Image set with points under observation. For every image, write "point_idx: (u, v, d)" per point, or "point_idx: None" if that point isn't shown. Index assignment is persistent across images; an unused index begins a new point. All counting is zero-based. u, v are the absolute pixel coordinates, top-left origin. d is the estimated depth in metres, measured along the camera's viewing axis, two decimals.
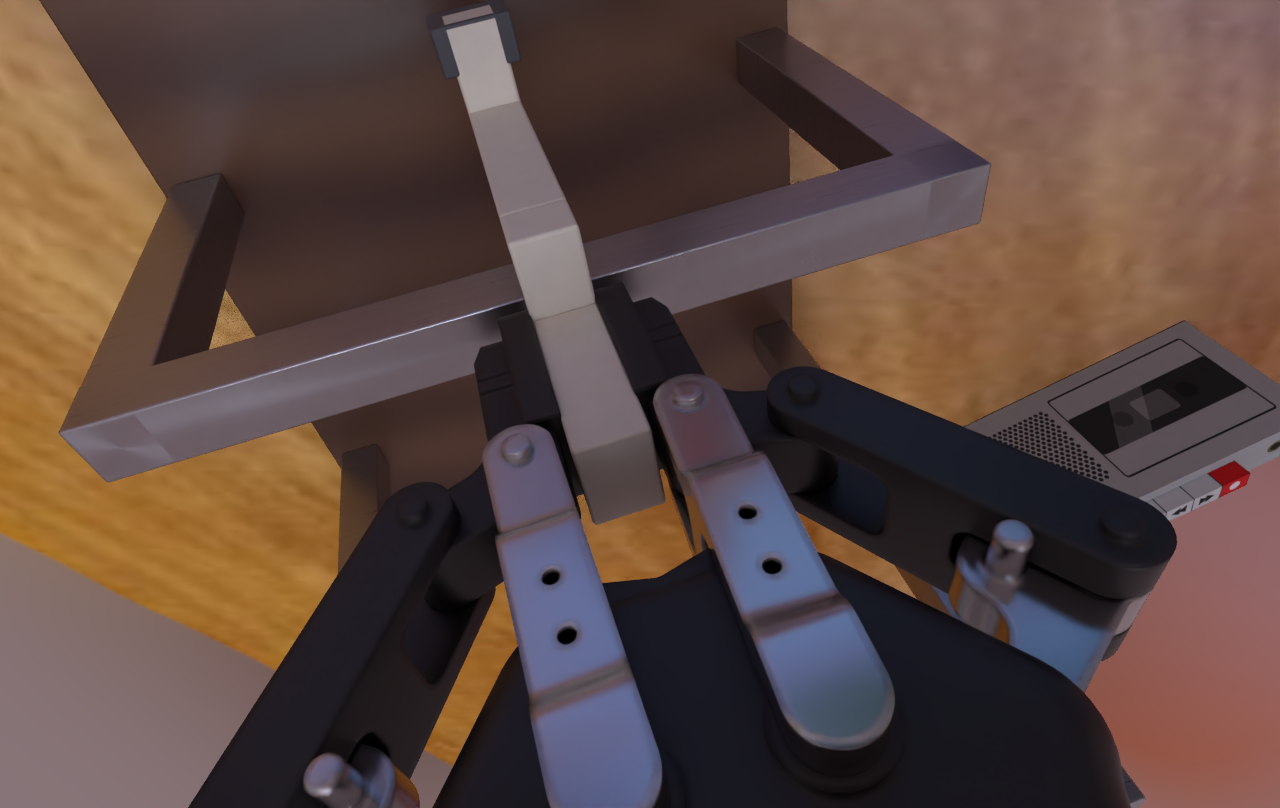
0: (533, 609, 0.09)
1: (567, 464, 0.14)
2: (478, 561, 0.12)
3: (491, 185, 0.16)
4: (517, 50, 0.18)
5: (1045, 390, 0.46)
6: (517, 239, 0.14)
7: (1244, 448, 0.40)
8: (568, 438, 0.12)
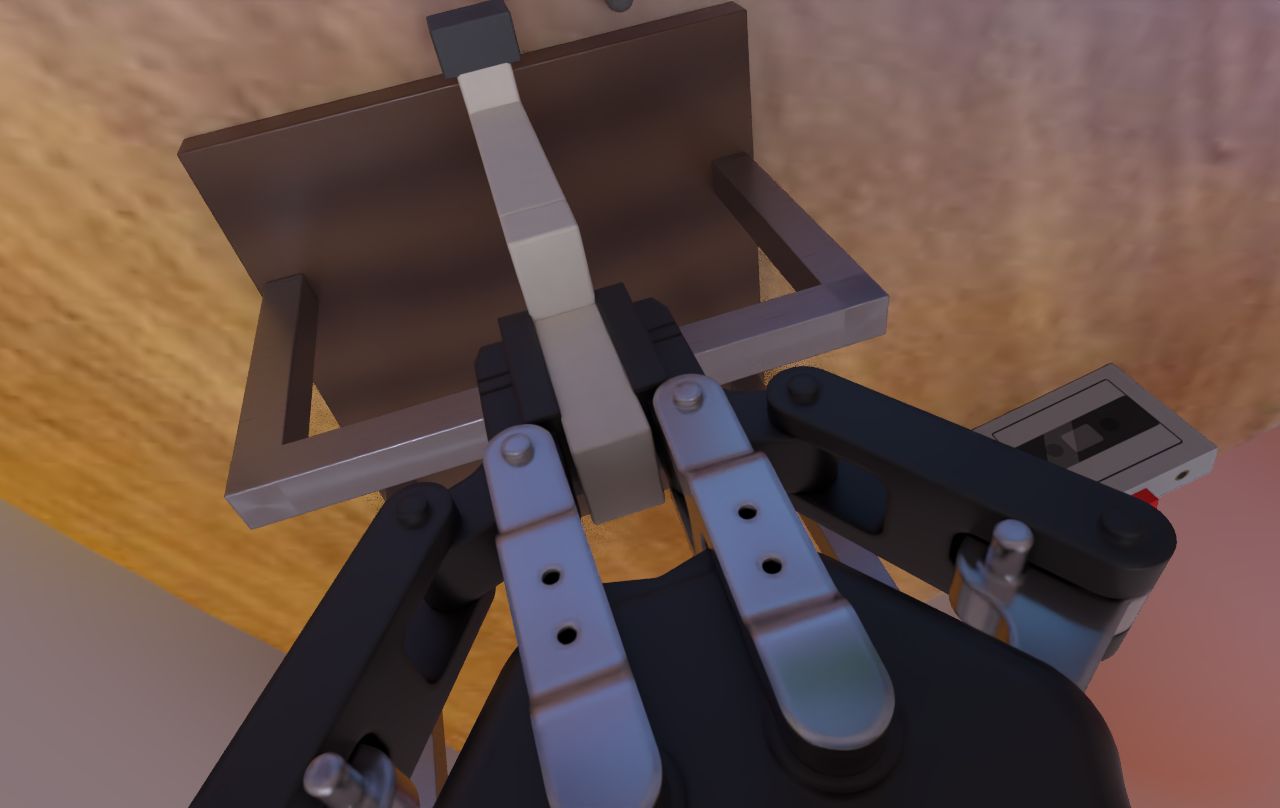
0: (533, 609, 0.09)
1: (567, 464, 0.14)
2: (478, 561, 0.12)
3: (491, 185, 0.16)
4: (517, 50, 0.19)
5: (991, 423, 0.53)
6: (517, 239, 0.14)
7: (1154, 478, 0.46)
8: (568, 438, 0.13)
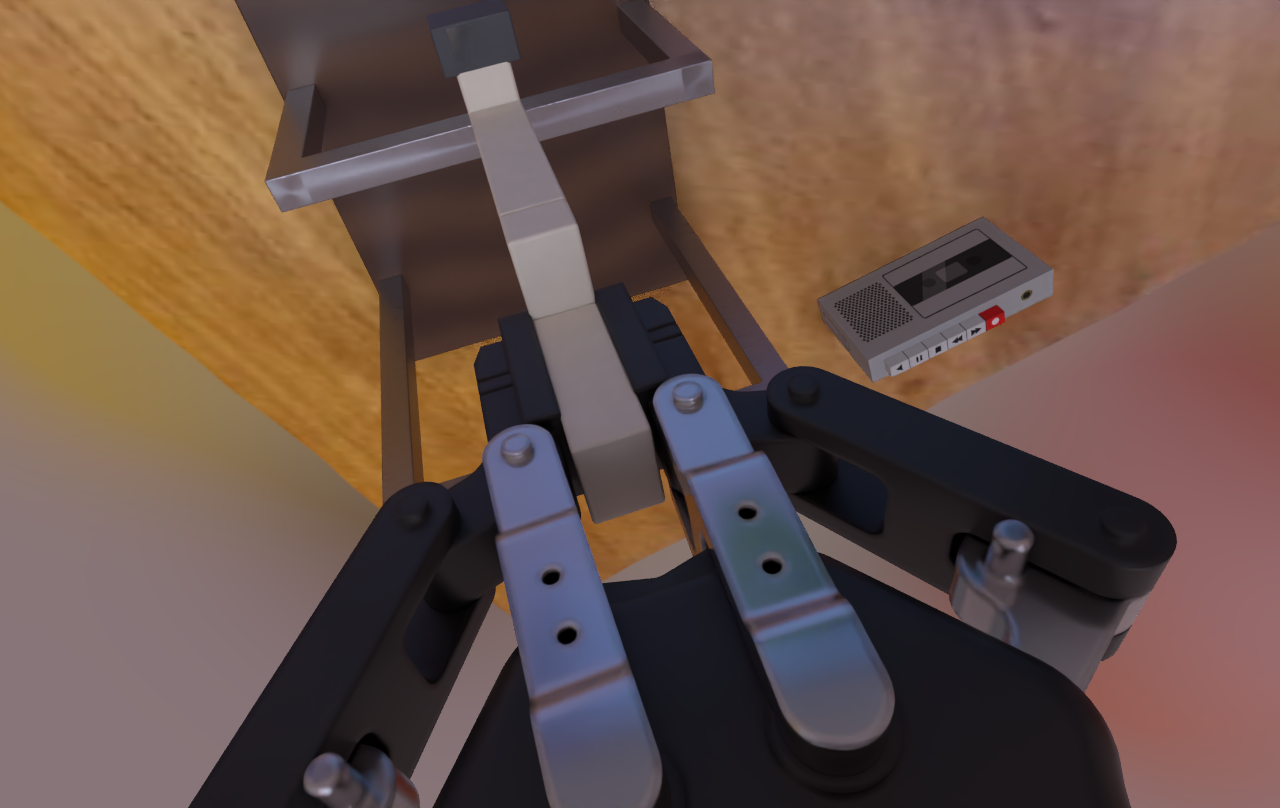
0: (533, 609, 0.09)
1: (567, 464, 0.14)
2: (478, 561, 0.12)
3: (491, 184, 0.16)
4: (517, 49, 0.18)
5: (882, 268, 0.64)
6: (517, 238, 0.14)
7: (1001, 294, 0.57)
8: (568, 437, 0.12)
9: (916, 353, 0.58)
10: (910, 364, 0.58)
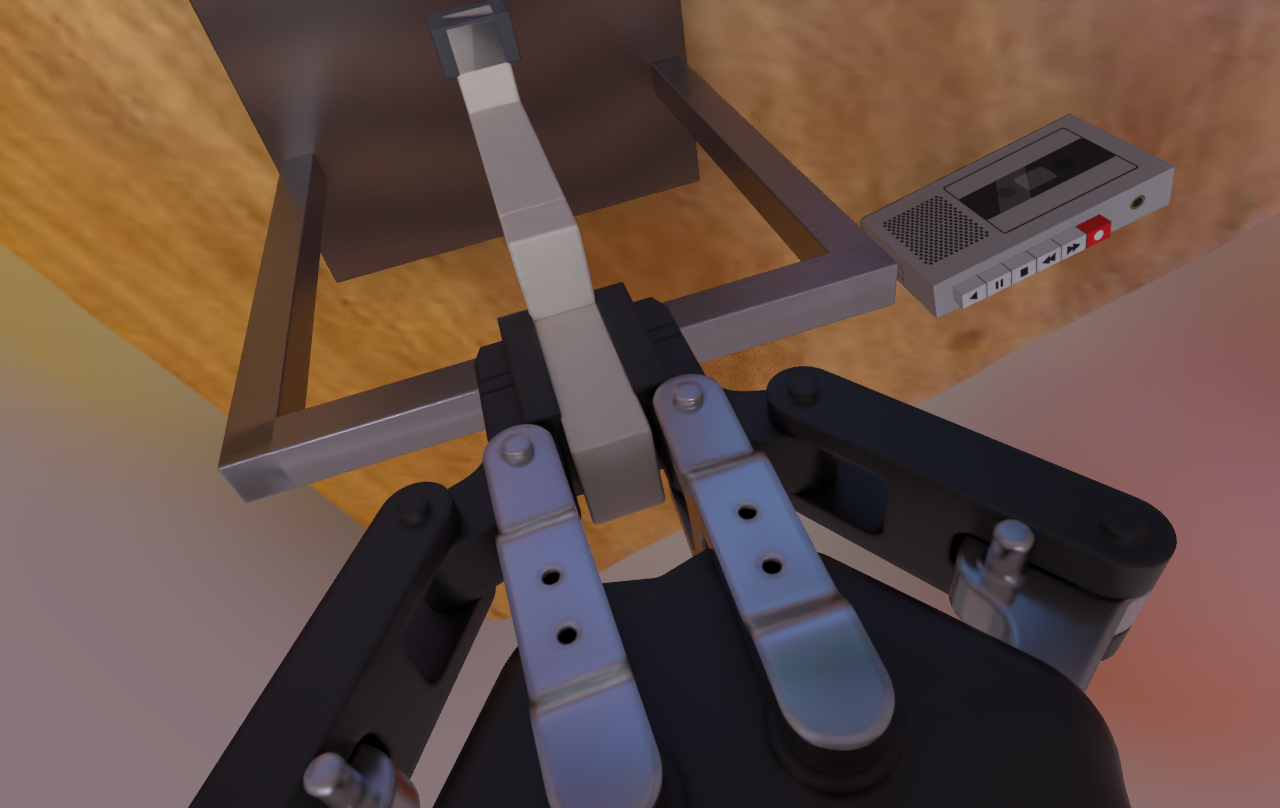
0: (533, 609, 0.09)
1: (567, 464, 0.14)
2: (478, 561, 0.12)
3: (491, 185, 0.16)
4: (517, 50, 0.18)
5: (943, 179, 0.51)
6: (517, 239, 0.14)
7: (1106, 200, 0.44)
8: (568, 438, 0.13)
9: (996, 276, 0.44)
10: (987, 291, 0.45)
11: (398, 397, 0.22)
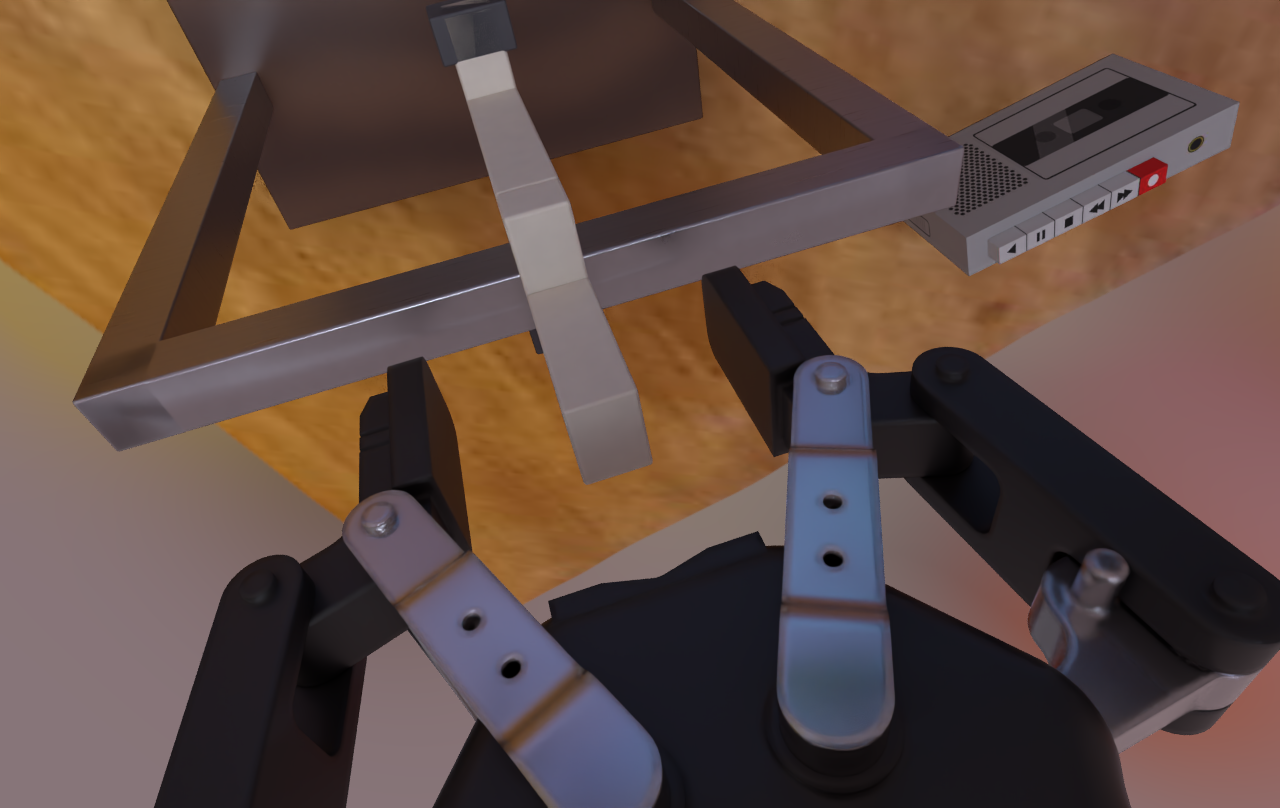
0: (466, 658, 0.09)
1: (447, 525, 0.13)
2: (344, 619, 0.12)
3: (487, 166, 0.17)
4: (513, 38, 0.19)
5: (972, 126, 0.46)
6: (512, 215, 0.15)
7: (1162, 140, 0.39)
8: (559, 400, 0.13)
9: (1037, 227, 0.39)
10: (1027, 244, 0.40)
11: (318, 313, 0.17)
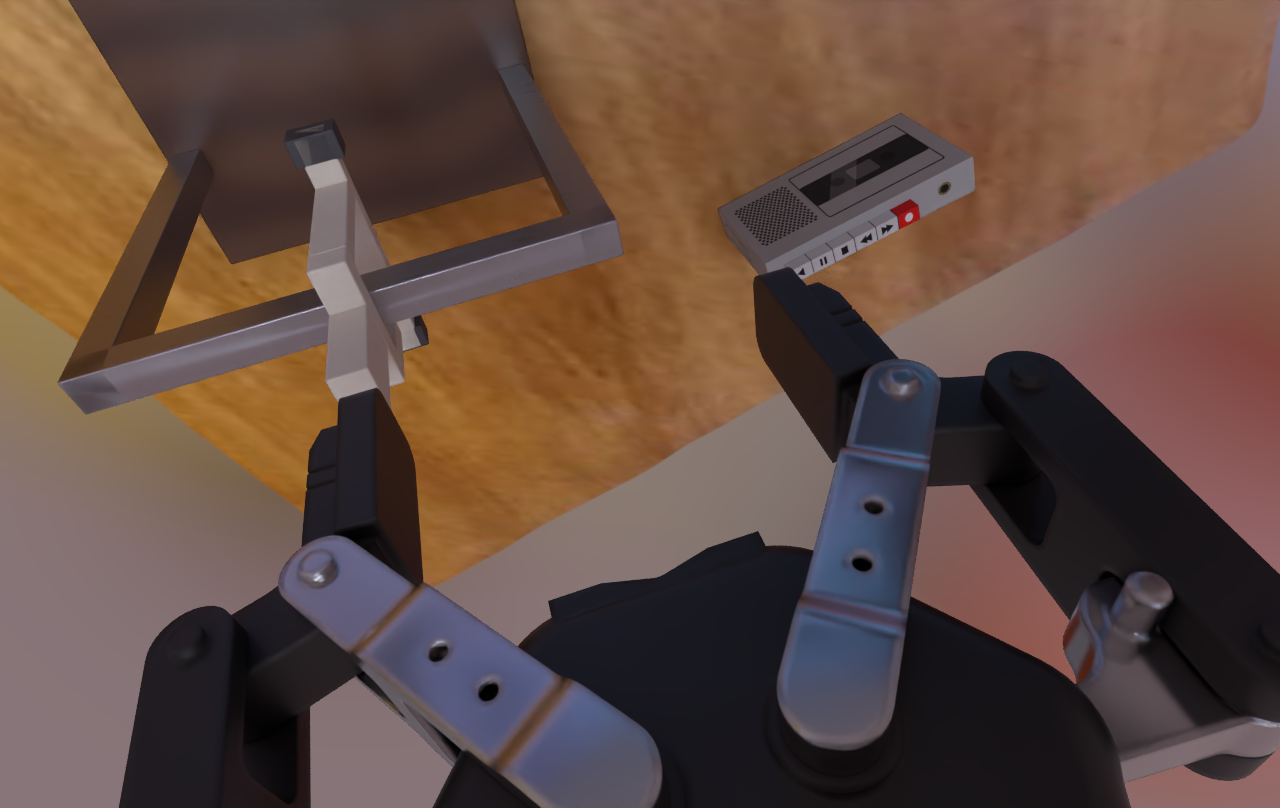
0: (439, 689, 0.09)
1: (396, 568, 0.13)
2: None
3: (310, 237, 0.27)
4: (341, 151, 0.30)
5: (789, 172, 0.57)
6: (312, 270, 0.26)
7: (914, 186, 0.50)
8: (326, 374, 0.24)
9: (819, 254, 0.50)
10: (813, 268, 0.51)
11: (208, 328, 0.28)
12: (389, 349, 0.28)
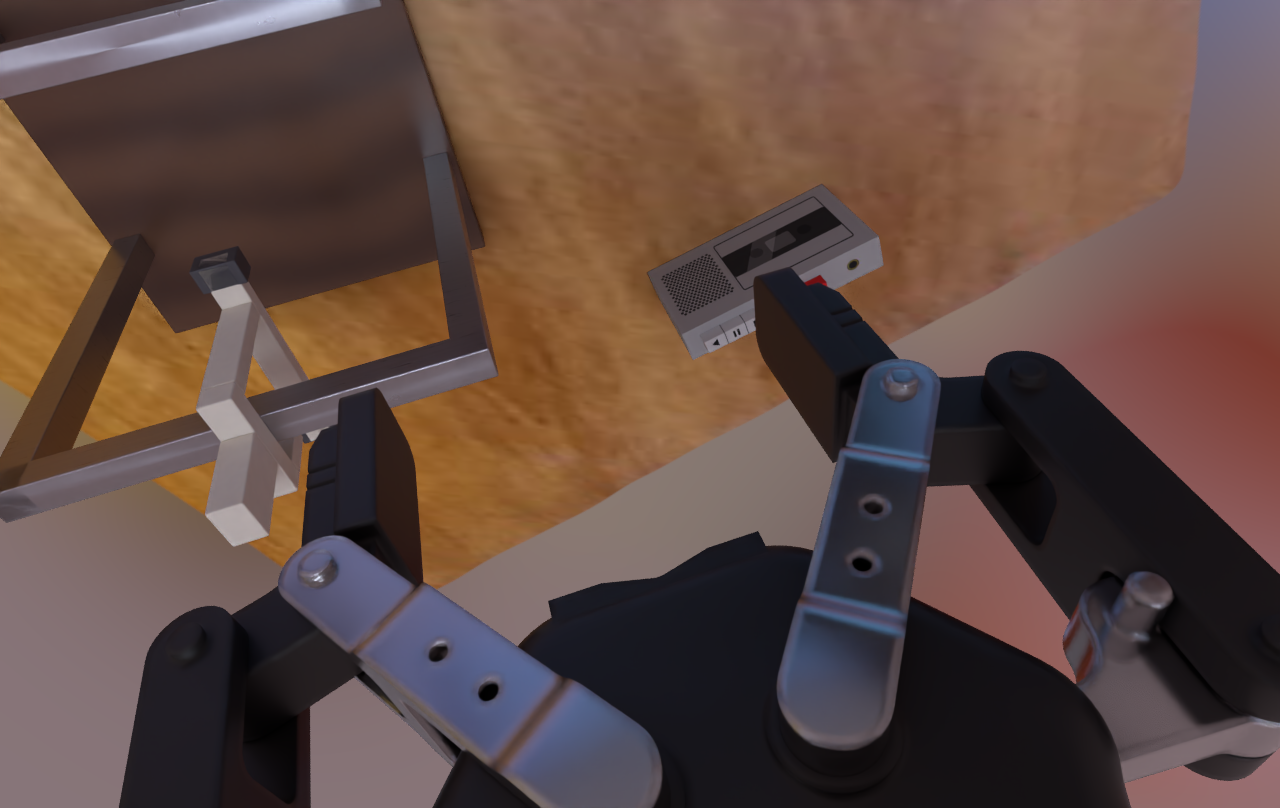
0: (440, 689, 0.09)
1: (396, 568, 0.13)
2: None
3: (206, 368, 0.30)
4: (243, 278, 0.33)
5: (715, 239, 0.60)
6: (201, 406, 0.29)
7: (823, 264, 0.53)
8: (206, 507, 0.27)
9: (732, 327, 0.53)
10: (727, 339, 0.54)
11: (116, 447, 0.31)
12: (280, 465, 0.31)
